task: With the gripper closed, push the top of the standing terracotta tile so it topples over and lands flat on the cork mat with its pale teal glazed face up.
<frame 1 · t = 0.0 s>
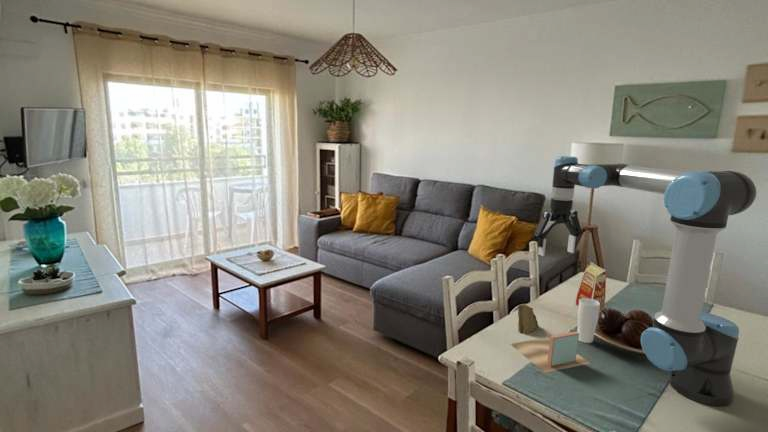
hand: (556, 253, 158), 28 cm above the table, tool pointing down, fingers open, 13 cm apart
milk carton: (590, 308, 176), on the table
drinking glass: (584, 341, 150), on the table
mat: (548, 354, 140), on the table
rock: (528, 330, 157), on the table
tile: (561, 362, 134), point 1 cm above the table, touching mat
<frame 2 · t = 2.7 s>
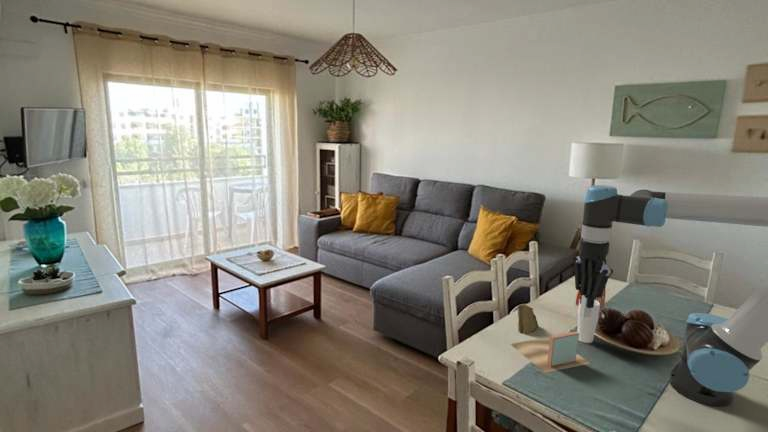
hand: (585, 316, 123), 20 cm above the table, tool pointing down, fingers closed
nothing on the table moved.
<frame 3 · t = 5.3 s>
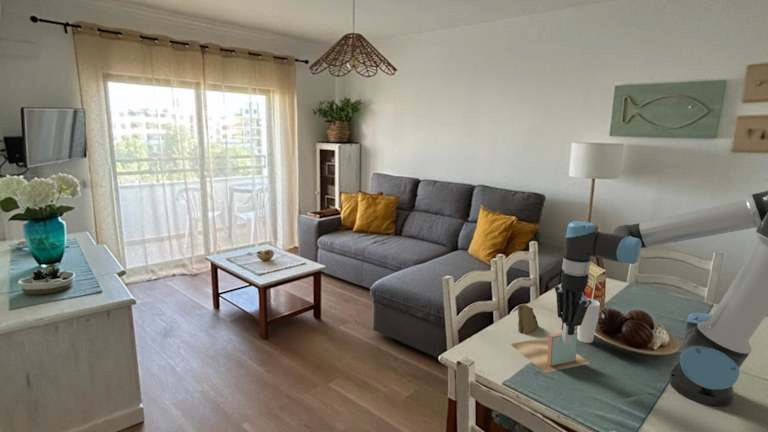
hand: (566, 342, 131), 9 cm above the table, tool pointing down, fingers closed
tile: (561, 362, 134), point 1 cm above the table, touching gripper, mat
everything else where it was.
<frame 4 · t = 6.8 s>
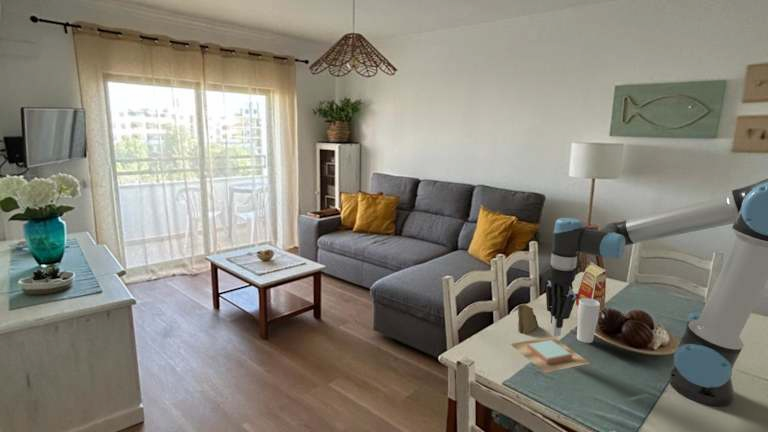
hand: (555, 334, 136), 8 cm above the table, tool pointing down, fingers closed
tile: (559, 359, 135), point 1 cm above the table, tilted 90°, touching mat
everything else where it was.
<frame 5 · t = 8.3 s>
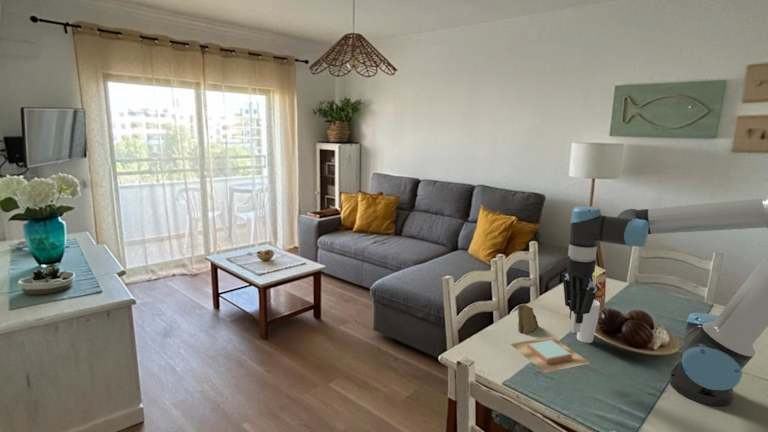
hand: (574, 331, 128), 14 cm above the table, tool pointing down, fingers closed
nothing on the table moved.
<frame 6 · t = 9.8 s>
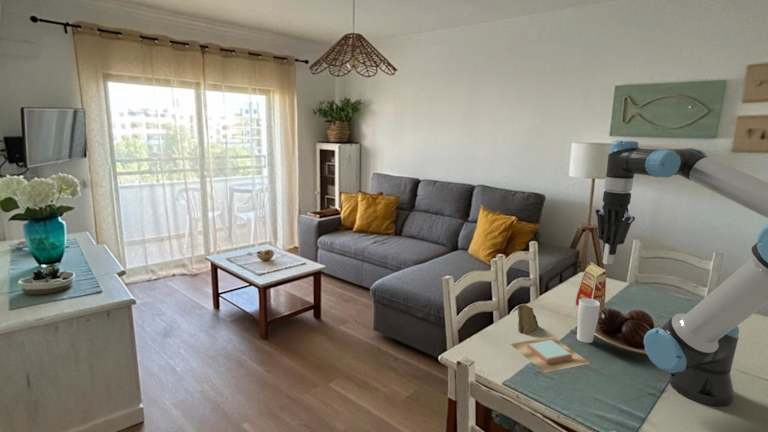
hand: (607, 263, 134), 32 cm above the table, tool pointing down, fingers closed
nothing on the table moved.
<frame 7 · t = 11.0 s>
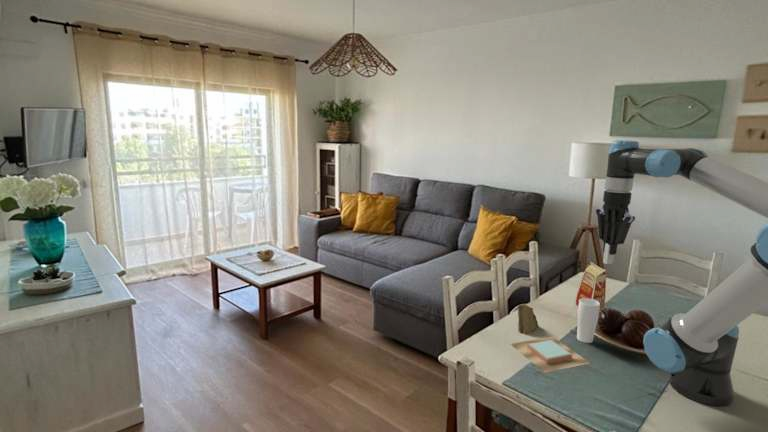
hand: (607, 262, 134), 32 cm above the table, tool pointing down, fingers closed
nothing on the table moved.
at the end: tile tilted 90°; tile inside the target area on the mat (4.6 cm from its centre), point 1.3 cm above the mat's base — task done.
